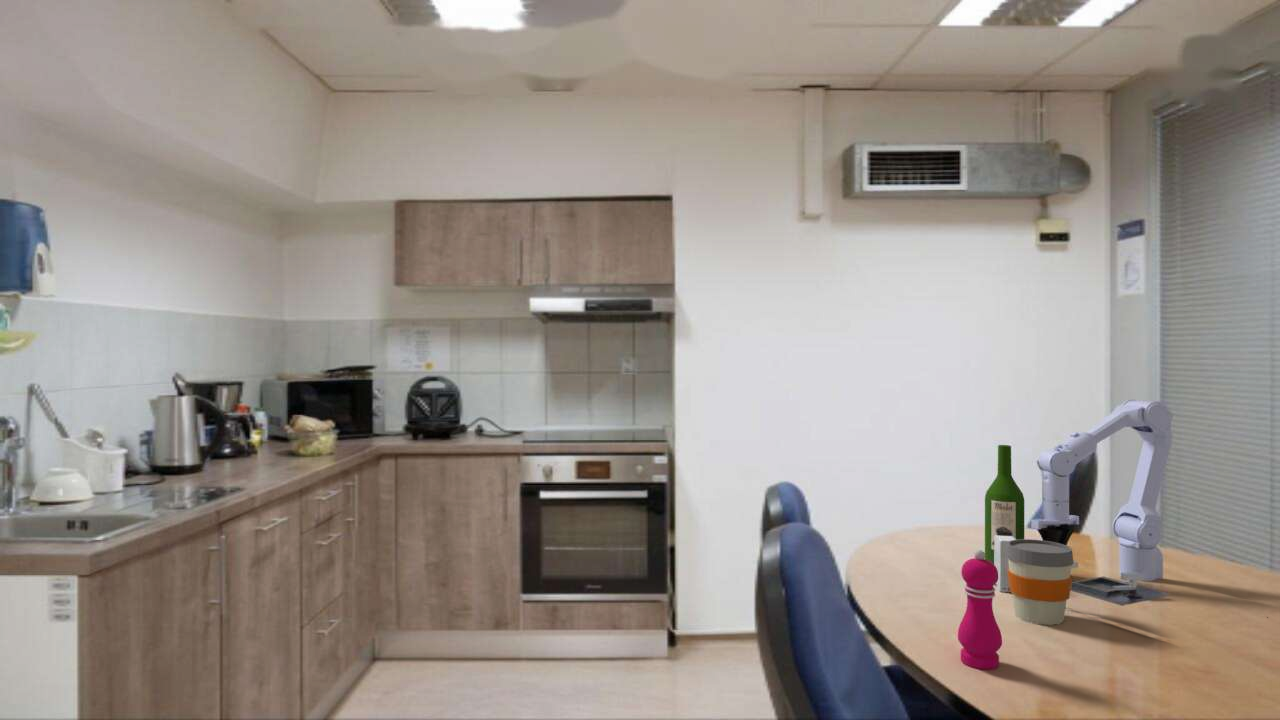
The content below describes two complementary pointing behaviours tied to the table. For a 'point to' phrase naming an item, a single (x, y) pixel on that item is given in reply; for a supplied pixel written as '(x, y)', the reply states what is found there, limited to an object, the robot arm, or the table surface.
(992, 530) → the wine bottle
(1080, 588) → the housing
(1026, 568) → the reusable coffee cup
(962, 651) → the pepper mill
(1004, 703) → the table surface
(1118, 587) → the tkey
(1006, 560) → the skincare box
